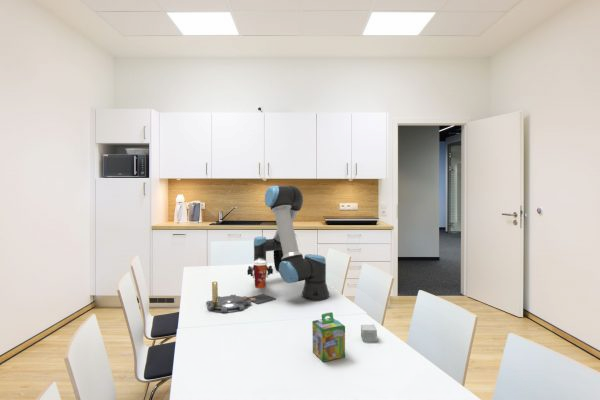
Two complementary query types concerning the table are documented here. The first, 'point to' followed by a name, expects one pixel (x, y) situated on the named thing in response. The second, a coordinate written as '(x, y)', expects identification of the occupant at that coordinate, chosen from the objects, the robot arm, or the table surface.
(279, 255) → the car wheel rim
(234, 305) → the sprocket
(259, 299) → the marked pad
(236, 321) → the table surface
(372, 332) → the small box
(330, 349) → the chalk box
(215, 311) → the sprocket base
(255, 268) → the paper cup
